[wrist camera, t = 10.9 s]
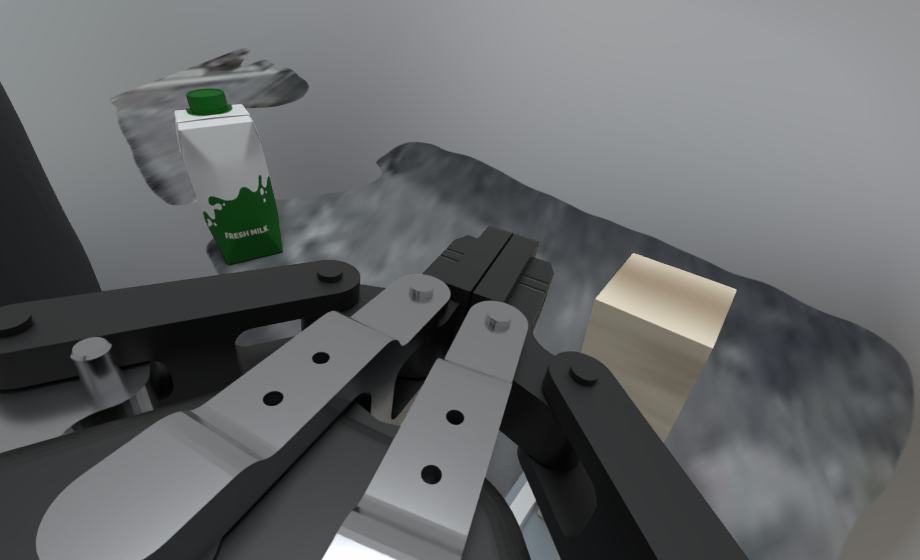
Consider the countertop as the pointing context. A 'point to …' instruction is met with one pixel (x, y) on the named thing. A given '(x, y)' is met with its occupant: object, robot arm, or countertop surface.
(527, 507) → the chute
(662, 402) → the block
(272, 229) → the milk carton
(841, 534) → the countertop surface
